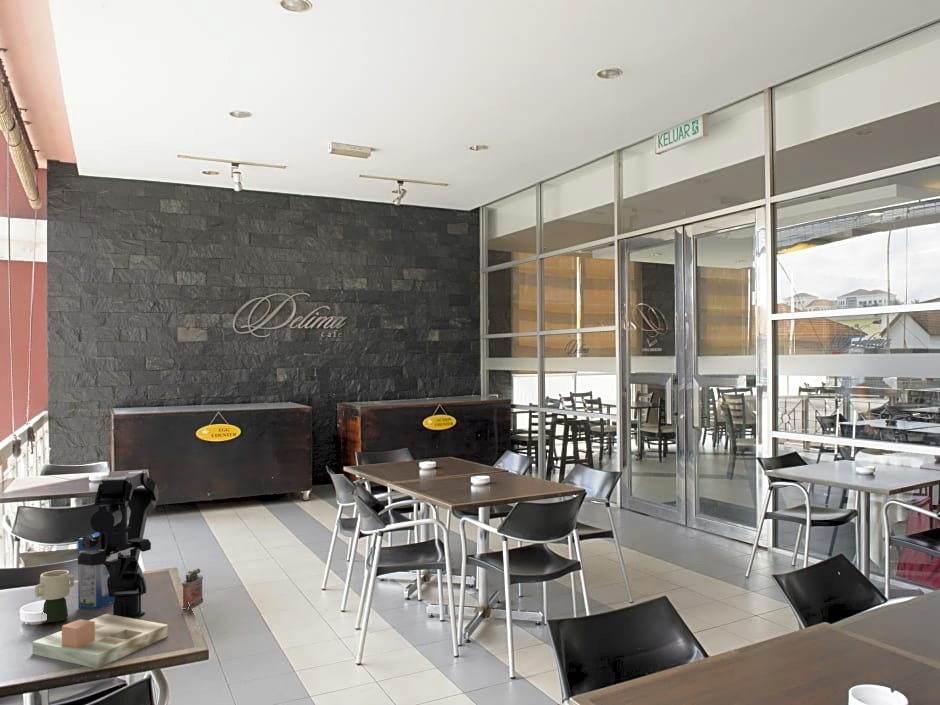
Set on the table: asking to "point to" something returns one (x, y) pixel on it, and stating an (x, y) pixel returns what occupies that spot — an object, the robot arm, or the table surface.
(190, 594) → the lighter
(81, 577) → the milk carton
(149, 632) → the cream flat piece
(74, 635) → the block
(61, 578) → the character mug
